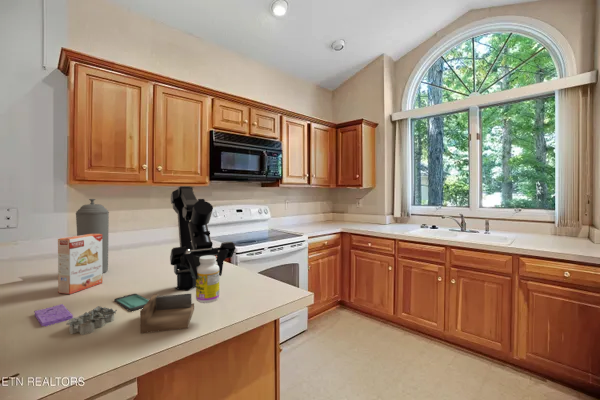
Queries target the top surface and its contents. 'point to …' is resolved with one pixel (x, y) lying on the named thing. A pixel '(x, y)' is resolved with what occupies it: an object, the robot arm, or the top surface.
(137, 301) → the smartphone
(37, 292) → the top surface
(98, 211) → the canister
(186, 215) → the robot arm
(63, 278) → the cracker box
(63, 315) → the sponges
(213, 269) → the supplement bottle
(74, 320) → the egg carton
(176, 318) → the brown piece
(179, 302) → the gray flat bar
